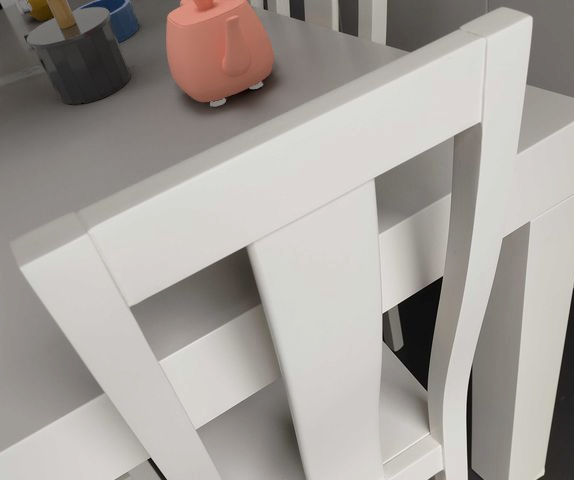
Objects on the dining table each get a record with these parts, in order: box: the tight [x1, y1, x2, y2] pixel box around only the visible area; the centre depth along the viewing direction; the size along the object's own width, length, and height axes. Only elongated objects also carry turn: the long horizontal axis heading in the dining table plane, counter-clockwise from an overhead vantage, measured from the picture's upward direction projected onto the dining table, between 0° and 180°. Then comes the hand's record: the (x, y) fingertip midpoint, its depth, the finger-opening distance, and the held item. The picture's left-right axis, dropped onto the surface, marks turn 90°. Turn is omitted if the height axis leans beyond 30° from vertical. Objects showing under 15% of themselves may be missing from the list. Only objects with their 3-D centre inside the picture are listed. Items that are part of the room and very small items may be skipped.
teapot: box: [165, 0, 275, 103], centre depth 77 cm, size 13×20×12 cm, turn 27°
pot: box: [33, 20, 132, 105], centre depth 90 cm, size 12×12×8 cm
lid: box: [26, 0, 111, 49], centre depth 85 cm, size 13×13×6 cm
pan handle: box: [23, 30, 33, 44], centre depth 105 cm, size 8×2×1 cm, turn 102°
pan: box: [73, 0, 140, 43], centre depth 106 cm, size 12×12×4 cm
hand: (58, 2), depth 84 cm, fingers open, 8 cm apart
